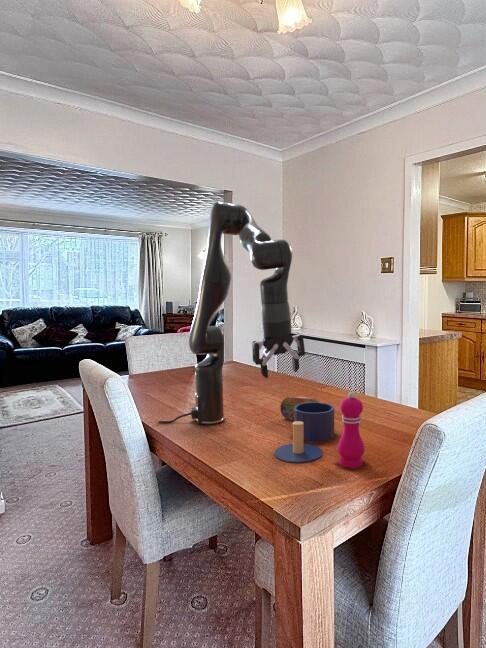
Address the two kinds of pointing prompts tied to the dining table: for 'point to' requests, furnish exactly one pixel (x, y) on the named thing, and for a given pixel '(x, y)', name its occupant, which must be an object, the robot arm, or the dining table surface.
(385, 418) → the dining table surface
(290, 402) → the tin
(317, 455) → the lid
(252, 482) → the dining table surface
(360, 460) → the pepper mill
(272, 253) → the robot arm
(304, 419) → the can
